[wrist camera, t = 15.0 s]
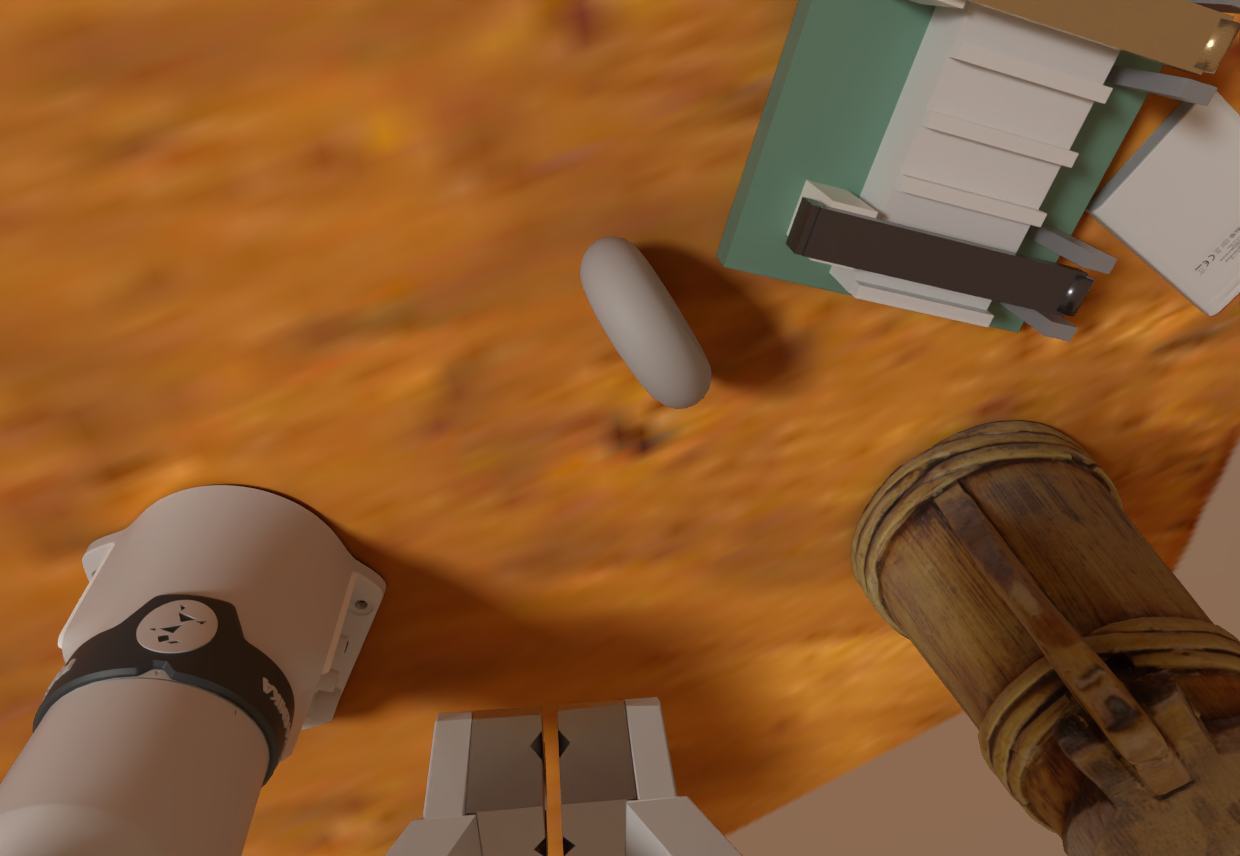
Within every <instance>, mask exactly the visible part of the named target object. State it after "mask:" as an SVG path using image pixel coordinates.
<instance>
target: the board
mask: <svg viewBox="0 0 1240 856" xmlns="http://www.w3.org/2000/svg"><path fill="white" fill-rule="evenodd" d="M1187 1H1190V2H1193V3H1196V4H1198V5H1201V6H1204V7H1207V8H1210V9H1213V10H1216V11H1219V12H1225V13H1238V14H1240V0H1187ZM1163 66H1164V65H1163V64H1160V63H1156V62H1153V61H1150V60H1147V59H1144V58H1141V57H1138V56H1135V55H1132V54H1129V53H1126V52H1122V51H1119V50H1116V49H1113V48H1110V47H1107V46H1104V45H1101V44H1098V43H1095V42H1092V41H1088V40H1085V39H1082V38H1079V37H1076V36H1073V35H1070V34H1067V33H1064V32H1061V31H1058V30H1054V29H1051V28H1048V27H1045V26H1042V25H1039V24H1036V23H1033V22H1030V21H1027V20H1024V19H1020V18H1017V17H1014V16H1011V15H1008V14H1005V13H1002V12H999V11H996V10H993V9H990V8H986V7H983V6H980V5H977V4H974V3H971V2H968V1H965V0H799V2H798V5H797V8H796V12H795V15H794V18H793V21H792V24H791V27H790V30H789V33H788V36H787V39H786V42H785V45H784V49H783V52H782V55H781V58H780V61H779V64H778V67H777V70H776V73H775V76H774V79H773V82H772V86H771V89H770V92H769V95H768V98H767V101H766V104H765V107H764V110H763V113H762V116H761V119H760V122H759V126H758V129H757V132H756V135H755V138H754V141H753V144H752V147H751V150H750V153H749V156H748V159H747V163H746V166H745V169H744V172H743V175H742V178H741V181H740V184H739V187H738V190H737V193H736V196H735V200H734V203H733V206H732V209H731V212H730V215H729V218H728V221H727V224H726V227H725V230H724V233H723V237H722V240H721V243H720V246H719V249H718V252H717V257H718V259H719V260H720V262H721V263H722V265H723V266H724V267H726V268H731V269H735V270H740V271H744V272H749V273H753V274H758V275H762V276H767V277H771V278H776V279H780V280H785V281H789V282H794V283H798V284H803V285H807V286H811V287H816V288H820V289H825V290H829V291H834V292H838V293H843V294H847V295H852V296H854V297H855V298H858V299H863V300H867V301H872V302H876V303H881V304H885V305H889V306H894V307H898V308H903V309H907V310H912V311H916V312H921V313H925V314H930V315H934V316H939V317H943V318H948V319H952V320H957V321H961V322H966V323H970V324H975V325H979V326H984V327H989V326H990V327H995V328H999V329H1004V330H1008V331H1013V332H1017V333H1018V332H1019V330H1020V328H1021V326H1022V324H1023V323H1024V321H1025V322H1026V323H1027V324H1029V325H1030V326H1032V327H1033V328H1034V329H1036V330H1037V331H1038V332H1040V333H1041V334H1043V335H1044V336H1048V337H1052V338H1057V339H1061V340H1065V341H1071V339H1072V337H1073V335H1074V334H1075V332H1076V330H1077V329H1078V328H1077V327H1076V326H1074V325H1073V324H1071V323H1070V322H1068V321H1067V320H1065V319H1064V318H1062V317H1061V316H1058V315H1054V314H1050V313H1045V312H1041V311H1037V310H1032V309H1028V308H1024V307H1020V306H1015V305H1011V304H1007V303H1002V302H998V301H994V300H989V299H985V298H981V297H976V296H972V295H968V294H964V293H959V292H955V291H951V290H946V289H942V288H938V287H933V286H929V285H925V284H920V283H916V282H912V281H908V280H903V279H899V278H895V277H890V276H886V275H882V274H877V273H873V272H869V271H865V270H860V269H856V268H852V267H847V266H843V265H839V264H834V263H830V262H826V261H821V260H817V259H813V258H809V257H804V256H802V255H798V254H794V252H793V251H792V250H791V249H790V248H789V247H788V246H787V245H786V244H785V243H786V241H787V238H788V235H789V233H790V230H791V227H792V224H793V222H794V219H795V216H796V213H797V211H798V208H799V205H800V202H801V200H802V197H806V198H810V199H814V200H818V201H819V202H820V203H821V204H823V205H825V206H829V207H833V208H837V209H841V210H845V211H849V212H853V213H857V214H861V215H865V216H869V217H873V218H877V219H881V220H885V221H889V222H893V223H897V224H901V225H905V226H909V227H913V228H917V229H921V230H925V231H929V232H933V233H937V234H941V235H945V236H949V237H953V238H957V239H961V240H965V241H969V242H973V243H977V244H981V245H985V246H989V247H994V248H998V249H1002V250H1006V251H1010V252H1014V253H1018V254H1022V255H1026V256H1030V257H1034V258H1038V259H1042V260H1046V261H1050V262H1054V263H1056V262H1057V260H1058V258H1059V256H1060V255H1061V256H1062V257H1064V258H1066V259H1068V260H1070V261H1071V262H1073V263H1075V264H1077V265H1079V266H1080V267H1082V268H1086V269H1090V270H1094V271H1098V272H1102V273H1106V274H1110V272H1111V270H1112V269H1113V267H1114V265H1115V263H1116V262H1117V260H1118V259H1116V258H1114V257H1112V256H1110V255H1108V254H1106V253H1104V252H1102V251H1100V250H1098V249H1096V248H1094V247H1092V246H1090V245H1088V244H1086V243H1084V242H1082V241H1080V240H1078V239H1076V238H1074V237H1073V236H1071V234H1072V233H1073V231H1074V229H1075V227H1076V225H1077V223H1078V222H1079V220H1080V218H1081V216H1082V214H1083V212H1084V211H1085V209H1086V207H1087V205H1088V203H1089V201H1090V200H1091V198H1092V196H1093V194H1094V192H1095V190H1096V189H1097V187H1098V185H1099V183H1100V181H1101V179H1102V178H1103V176H1104V174H1105V172H1106V170H1107V168H1108V167H1109V165H1110V163H1111V161H1112V159H1113V157H1114V156H1115V154H1116V152H1117V150H1118V148H1119V146H1120V145H1121V143H1122V141H1123V139H1124V137H1125V135H1126V134H1127V132H1128V130H1129V128H1130V126H1131V124H1132V123H1133V121H1134V119H1135V117H1136V115H1137V113H1138V112H1139V110H1140V108H1141V106H1142V104H1143V102H1144V101H1145V99H1146V97H1147V95H1148V94H1152V95H1157V96H1162V97H1167V98H1171V99H1176V100H1181V101H1185V102H1190V103H1195V104H1200V105H1204V106H1208V104H1209V102H1210V101H1211V99H1212V97H1213V96H1214V94H1215V92H1216V90H1217V89H1218V88H1217V87H1214V86H1211V85H1208V84H1205V83H1202V82H1199V81H1195V80H1192V79H1189V78H1183V77H1178V76H1172V75H1166V74H1161V73H1160V71H1161V69H1162V67H1163Z"/></svg>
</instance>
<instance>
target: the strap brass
mask: <svg viewBox="0 0 1240 856" xmlns="http://www.w3.org/2000/svg"><path fill="white" fill-rule="evenodd" d="M965 1H968V2H971V3H974V4H977V5H980V6H983V7H986V8H990V9H993V10H996V11H999V12H1002V13H1005V14H1008V15H1011V16H1014V17H1017V18H1020V19H1024V20H1027V21H1030V22H1033V23H1036V24H1039V25H1042V26H1045V27H1048V28H1051V29H1054V30H1058V31H1061V32H1064V33H1067V34H1070V35H1073V36H1076V37H1079V38H1082V39H1085V40H1088V41H1092V42H1095V43H1098V44H1101V45H1104V46H1107V47H1110V48H1113V49H1116V50H1119V51H1122V52H1126V53H1129V54H1132V55H1135V56H1138V57H1141V58H1144V59H1147V60H1150V61H1153V62H1156V63H1160V64H1163V65H1166V66H1169V67H1172V68H1175V69H1178V70H1181V71H1184V72H1187V73H1192V74H1198V75H1202V73H1203V72H1206V73H1211V74H1214V73H1215V71H1216V70H1217V68H1218V66H1219V65H1220V63H1221V61H1222V59H1223V58H1224V56H1225V54H1226V52H1227V51H1228V49H1229V47H1230V45H1231V44H1232V42H1233V40H1234V39H1235V37H1236V35H1237V33H1238V32H1239V30H1240V23H1237V22H1234V21H1232V20H1233V18H1234V17H1233V16H1230V15H1227V14H1224V13H1221V12H1219V11H1216V10H1213V9H1210V8H1207V7H1204V6H1201V5H1198V4H1196V3H1193V2H1190V1H1187V0H965Z"/></svg>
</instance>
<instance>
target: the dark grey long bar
mask: <svg viewBox="0 0 1240 856" xmlns="http://www.w3.org/2000/svg"><path fill="white" fill-rule="evenodd" d="M785 244H786V245H787V246H788V247H789V248H790V249H791V250H792V251H793V252H794V254H798V255H802V256H804V257H809V258H813V259H817V260H821V261H826V262H830V263H834V264H839V265H843V266H847V267H852V268H856V269H860V270H865V271H869V272H873V273H877V274H882V275H886V276H890V277H895V278H899V279H903V280H908V281H912V282H916V283H920V284H925V285H929V286H933V287H938V288H942V289H946V290H951V291H955V292H959V293H964V294H968V295H972V296H976V297H981V298H985V299H989V300H994V301H998V302H1002V303H1007V304H1011V305H1015V306H1020V307H1024V308H1028V309H1032V310H1037V311H1041V312H1045V313H1050V314H1054V315H1058V316H1063V317H1064V315H1069V316H1075V314H1076V313H1077V311H1078V309H1079V307H1080V306H1081V304H1082V302H1083V300H1084V299H1085V297H1086V295H1087V293H1088V292H1089V290H1090V288H1091V287H1092V285H1093V283H1094V281H1095V279H1094V278H1092V277H1090V276H1088V274H1087V273H1085V272H1084V271H1082V270H1080V269H1078V268H1074V267H1070V266H1066V265H1062V264H1058V263H1054V262H1050V261H1046V260H1042V259H1038V258H1034V257H1030V256H1026V255H1022V254H1018V253H1014V252H1010V251H1006V250H1002V249H998V248H994V247H989V246H985V245H981V244H977V243H973V242H969V241H965V240H961V239H957V238H953V237H949V236H945V235H941V234H937V233H933V232H929V231H925V230H921V229H917V228H913V227H909V226H905V225H901V224H897V223H893V222H889V221H885V220H881V219H877V218H873V217H869V216H865V215H861V214H857V213H853V212H849V211H845V210H841V209H837V208H833V207H829V206H825V205H823V204H821V203H820V202H819V201H818V200H814V199H810V198H806V197H802V200H801V202H800V205H799V208H798V211H797V213H796V216H795V219H794V222H793V224H792V227H791V230H790V233H789V235H788V238H787V241H786V243H785Z"/></svg>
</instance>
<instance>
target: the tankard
mask: <svg viewBox="0 0 1240 856" xmlns="http://www.w3.org/2000/svg"><path fill="white" fill-rule="evenodd" d="M851 559H852V566H853V571H854V575H855V579H856V580H857V582H858V583H859V584H860V585H861V587H862V588H863V590H864V592H865V595H866V597H867V598H868V599H869V601H870V602H871V603H872V604H873V606H874V607H875V608H876V609H877V611H878V612H879V614H880V615H881V617H882V618H883V619H884V620H885V621H886V622H887V623H888V624H889V625H890V626H891V627H892V628H893V629H894V630H896V631H897V632H898V633H900V634H901V635H903V636H904V637H906V638H907V639H909V640H911V642H912V643H913V644H914V646H915V647H916V648H917V649H918V651H919V652H920V653H921V655H922V656H923V657H924V659H925V660H926V661H927V663H928V664H929V665H930V667H931V668H932V669H933V671H934V672H935V673H936V674H937V676H938V677H939V678H940V680H941V681H942V682H943V683H944V685H945V686H946V687H947V689H948V690H949V691H950V693H951V694H952V695H953V696H954V698H955V699H956V700H957V702H958V703H959V704H960V706H961V707H962V708H963V710H964V711H965V712H966V714H967V715H968V716H969V717H970V719H971V720H972V722H973V723H974V724H975V725H976V727H977V728H978V730H979V734H978V739H979V743H980V748H981V753H982V756H983V758H984V759H985V761H986V763H987V764H988V766H989V768H990V769H991V770H992V771H993V773H994V774H995V775H996V776H997V777H998V778H999V780H1000V781H1001V782H1002V784H1003V785H1004V787H1005V788H1006V789H1007V791H1008V792H1009V794H1010V795H1011V796H1012V797H1013V798H1014V799H1015V800H1016V801H1018V802H1019V804H1020V805H1021V806H1022V807H1023V809H1024V810H1025V811H1026V812H1027V813H1028V815H1029V816H1030V817H1031V818H1032V819H1033V820H1035V821H1036V822H1037V823H1039V824H1040V825H1042V826H1043V827H1045V828H1046V829H1048V830H1050V831H1052V832H1054V833H1057V834H1058V835H1059V836H1060V837H1061V839H1062V840H1063V846H1064V851H1065V853H1066V854H1067V855H1068V856H1240V641H1239V640H1238V639H1237V638H1236V637H1234V636H1233V635H1232V634H1230V633H1229V632H1227V631H1226V630H1224V629H1223V628H1221V627H1220V626H1218V625H1214V624H1213V622H1212V621H1211V620H1210V619H1209V618H1208V616H1207V615H1206V614H1205V613H1204V611H1203V610H1202V609H1201V608H1200V606H1199V605H1198V604H1197V603H1196V601H1195V600H1194V599H1193V598H1192V597H1191V595H1190V594H1189V593H1188V591H1187V590H1186V589H1185V588H1184V586H1183V585H1182V584H1181V583H1180V581H1179V580H1178V579H1177V578H1176V576H1175V575H1174V574H1173V573H1172V572H1171V571H1170V569H1169V568H1168V567H1167V566H1166V565H1165V563H1164V562H1163V561H1162V560H1161V558H1160V557H1159V556H1158V555H1157V553H1156V552H1155V551H1154V549H1153V548H1152V547H1151V545H1150V544H1149V543H1148V542H1147V541H1146V539H1145V538H1144V537H1143V536H1142V534H1141V533H1140V532H1139V531H1138V529H1137V528H1136V527H1135V526H1134V524H1133V523H1132V522H1131V520H1130V519H1129V518H1128V517H1127V515H1126V514H1125V513H1124V511H1123V503H1122V500H1121V498H1120V496H1119V494H1118V491H1117V489H1116V487H1115V484H1114V483H1113V482H1112V480H1111V479H1110V478H1109V477H1108V475H1107V474H1106V473H1105V472H1104V471H1103V470H1102V468H1101V467H1100V466H1099V465H1098V463H1097V462H1096V461H1095V460H1094V459H1093V458H1092V457H1091V456H1090V455H1089V454H1088V453H1087V452H1086V451H1085V450H1084V449H1083V448H1082V447H1081V446H1080V445H1079V444H1078V443H1076V442H1075V441H1073V440H1072V439H1070V438H1069V437H1067V436H1066V435H1064V434H1062V433H1061V432H1059V431H1057V430H1055V429H1053V428H1052V427H1050V426H1046V425H1043V424H1040V423H1033V422H1026V421H1001V422H994V423H987V424H983V425H980V426H976V427H973V428H970V429H968V430H965V431H962V432H959V433H957V434H954V435H953V436H951V437H949V438H947V439H945V440H943V441H941V442H939V443H937V444H935V445H934V446H933V447H932V448H930V449H928V450H927V451H925V452H924V453H922V454H921V455H919V456H917V457H915V458H913V459H912V460H910V461H909V462H907V463H906V464H905V465H902V466H899V467H898V468H897V469H896V470H895V471H894V472H893V473H892V474H891V475H890V476H889V477H888V478H887V479H886V481H885V482H884V483H883V485H882V486H881V487H880V488H879V489H878V490H877V492H876V493H875V494H874V496H873V497H872V499H871V500H870V502H869V503H868V505H867V506H866V508H865V509H864V512H863V514H862V516H861V518H860V521H859V523H858V525H857V528H856V531H855V534H854V537H853V540H852V546H851Z"/></svg>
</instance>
